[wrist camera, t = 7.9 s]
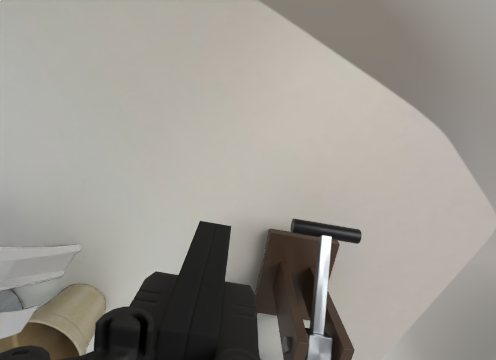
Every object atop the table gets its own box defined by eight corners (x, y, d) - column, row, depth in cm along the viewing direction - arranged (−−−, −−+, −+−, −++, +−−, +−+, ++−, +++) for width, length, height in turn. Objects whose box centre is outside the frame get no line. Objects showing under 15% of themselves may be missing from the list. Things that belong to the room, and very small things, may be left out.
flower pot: (42, 317, 39) (-14, 375, 30) (57, 262, 36) (1, 308, 28) (107, 338, 40) (71, 399, 31) (126, 285, 37) (91, 337, 29)
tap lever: (290, 219, 29) (296, 217, 27) (353, 230, 30) (364, 229, 28) (274, 355, 26) (279, 366, 24) (344, 365, 27) (356, 376, 24)
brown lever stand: (269, 228, 36) (284, 301, 22) (336, 239, 36) (390, 317, 23) (252, 306, 39) (256, 410, 25) (314, 315, 39) (351, 422, 26)
